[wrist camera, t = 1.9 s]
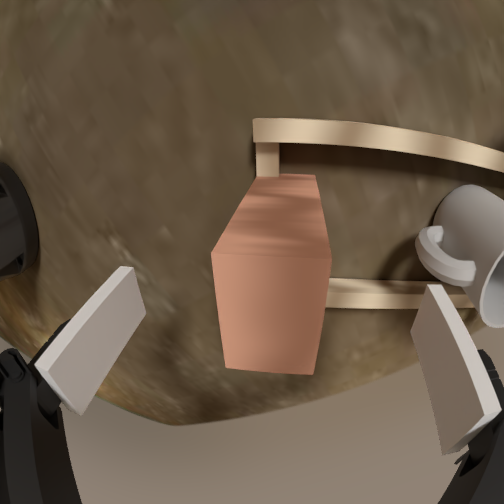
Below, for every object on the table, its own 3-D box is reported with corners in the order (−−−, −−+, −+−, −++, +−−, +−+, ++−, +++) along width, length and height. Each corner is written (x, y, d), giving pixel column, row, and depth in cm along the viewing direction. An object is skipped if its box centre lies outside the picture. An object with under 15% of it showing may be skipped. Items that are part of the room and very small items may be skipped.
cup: (486, 258, 20) (534, 318, 12) (396, 266, 22) (429, 342, 14) (498, 183, 17) (565, 227, 9) (401, 181, 19) (456, 231, 11)
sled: (260, 289, 25) (232, 409, 14) (257, 118, 18) (200, 132, 8) (491, 294, 21) (542, 380, 11) (527, 160, 15) (620, 213, 4)
